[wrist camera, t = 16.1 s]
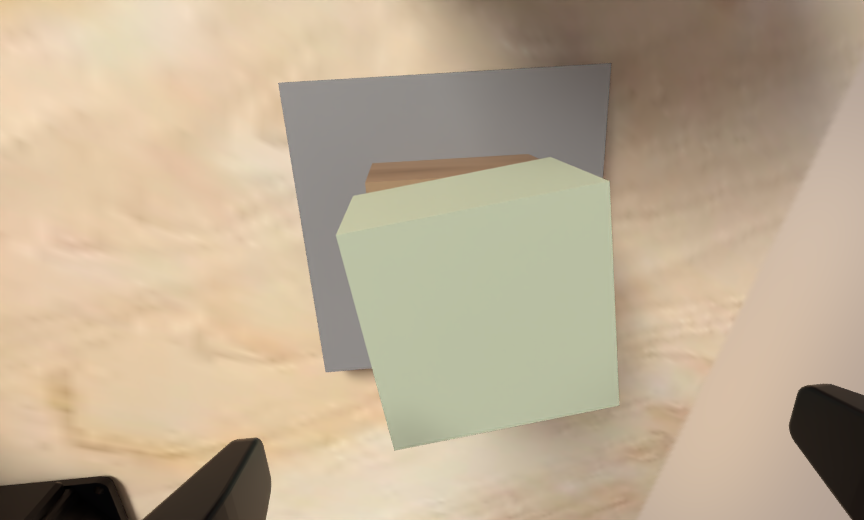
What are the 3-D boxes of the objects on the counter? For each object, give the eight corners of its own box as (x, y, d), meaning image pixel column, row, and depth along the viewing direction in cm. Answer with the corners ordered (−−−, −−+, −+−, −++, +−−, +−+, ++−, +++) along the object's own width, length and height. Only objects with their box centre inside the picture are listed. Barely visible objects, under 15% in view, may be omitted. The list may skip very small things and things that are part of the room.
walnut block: (525, 295, 19) (555, 343, 16) (385, 305, 19) (382, 357, 15) (528, 154, 17) (564, 170, 14) (371, 163, 17) (364, 182, 13)
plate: (577, 332, 22) (590, 348, 21) (330, 354, 21) (325, 372, 20) (594, 65, 18) (611, 63, 16) (287, 83, 17) (278, 82, 16)
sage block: (565, 330, 16) (619, 405, 12) (395, 364, 16) (394, 450, 12) (550, 157, 13) (609, 180, 10) (353, 195, 13) (335, 235, 10)
